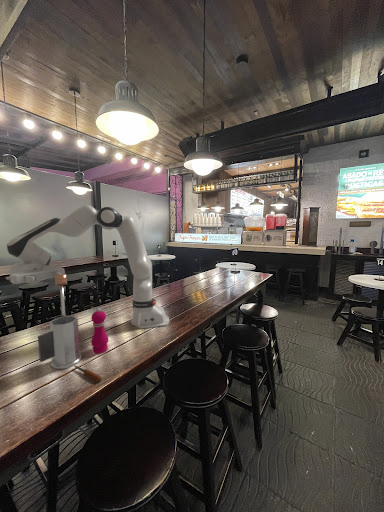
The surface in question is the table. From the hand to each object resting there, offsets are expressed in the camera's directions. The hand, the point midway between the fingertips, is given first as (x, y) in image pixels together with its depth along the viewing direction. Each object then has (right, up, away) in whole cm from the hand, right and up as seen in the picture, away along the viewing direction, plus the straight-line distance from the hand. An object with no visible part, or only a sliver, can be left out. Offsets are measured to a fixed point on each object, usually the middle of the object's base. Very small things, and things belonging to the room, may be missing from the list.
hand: (47, 277), depth 92 cm
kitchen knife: (+22, -37, -10) cm, 44 cm away
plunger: (+9, -24, -3) cm, 26 cm away
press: (+9, -36, -3) cm, 37 cm away
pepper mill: (+20, -35, +7) cm, 40 cm away
